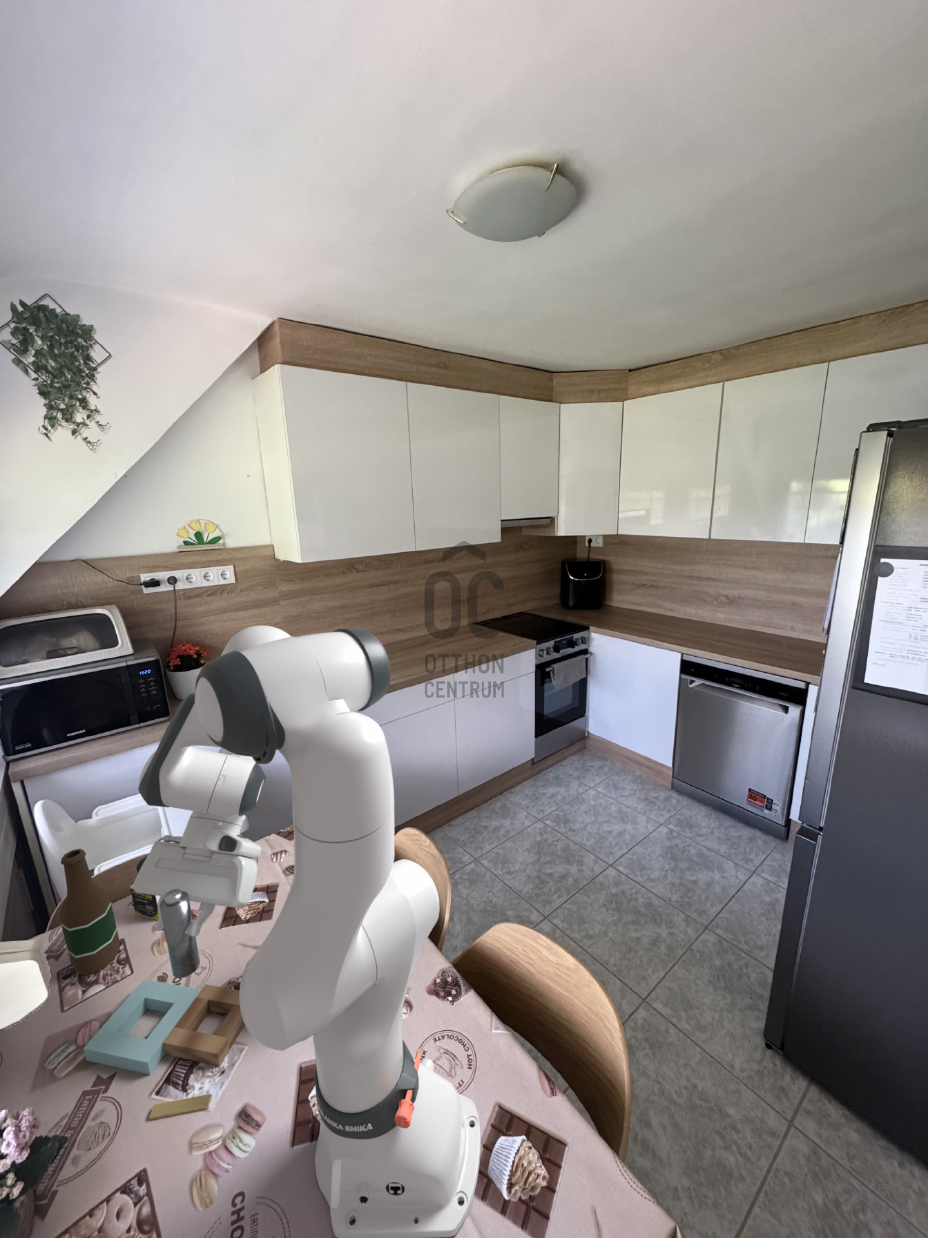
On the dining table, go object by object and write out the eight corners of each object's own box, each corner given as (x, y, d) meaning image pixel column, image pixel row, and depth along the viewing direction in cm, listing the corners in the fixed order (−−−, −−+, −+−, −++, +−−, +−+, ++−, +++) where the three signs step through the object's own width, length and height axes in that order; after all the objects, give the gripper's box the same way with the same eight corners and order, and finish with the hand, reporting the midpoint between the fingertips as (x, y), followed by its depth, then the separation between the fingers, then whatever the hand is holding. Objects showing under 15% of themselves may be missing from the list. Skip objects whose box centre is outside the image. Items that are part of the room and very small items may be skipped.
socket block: (257, 1004, 88) (255, 993, 87) (219, 1066, 78) (217, 1054, 77) (207, 995, 89) (205, 984, 89) (165, 1054, 80) (162, 1042, 79)
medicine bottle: (134, 914, 108) (124, 867, 106) (162, 890, 115) (153, 845, 112) (159, 921, 106) (150, 873, 103) (186, 896, 113) (178, 851, 110)
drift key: (212, 1098, 74) (211, 1094, 74) (208, 1110, 73) (207, 1105, 72) (154, 1110, 73) (153, 1105, 73) (150, 1122, 71) (149, 1117, 71)
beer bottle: (130, 943, 101) (108, 840, 96) (99, 978, 93) (73, 869, 88) (95, 941, 102) (71, 839, 96) (62, 976, 94) (34, 867, 89)
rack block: (203, 1001, 89) (201, 989, 88) (150, 1075, 77) (147, 1062, 76) (146, 990, 91) (144, 979, 90) (86, 1060, 79) (83, 1048, 79)
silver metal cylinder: (205, 958, 83) (192, 886, 80) (188, 980, 79) (174, 906, 76) (184, 954, 84) (171, 883, 80) (166, 976, 80) (151, 902, 77)
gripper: (146, 830, 86) (107, 923, 79) (251, 844, 82) (220, 943, 75) (170, 836, 91) (135, 924, 84) (270, 849, 87) (242, 942, 80)
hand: (176, 933), depth 79 cm, fingers closed on silver metal cylinder, 4 cm apart
